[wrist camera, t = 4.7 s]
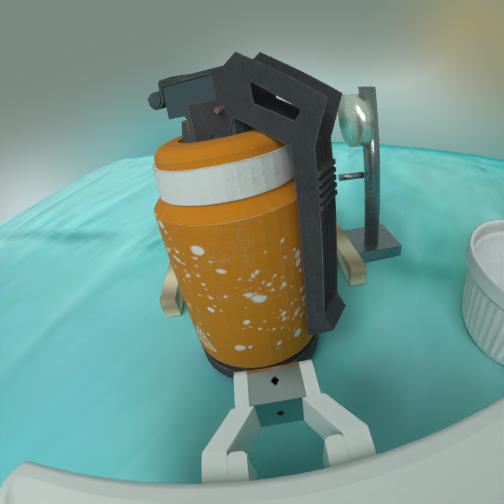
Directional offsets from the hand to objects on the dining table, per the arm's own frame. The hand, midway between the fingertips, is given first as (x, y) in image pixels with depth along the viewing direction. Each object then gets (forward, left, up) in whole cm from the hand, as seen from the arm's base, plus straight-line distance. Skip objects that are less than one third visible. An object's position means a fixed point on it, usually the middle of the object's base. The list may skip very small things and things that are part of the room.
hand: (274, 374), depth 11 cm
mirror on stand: (-13, -20, -8) cm, 25 cm away
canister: (0, -9, -9) cm, 13 cm away
